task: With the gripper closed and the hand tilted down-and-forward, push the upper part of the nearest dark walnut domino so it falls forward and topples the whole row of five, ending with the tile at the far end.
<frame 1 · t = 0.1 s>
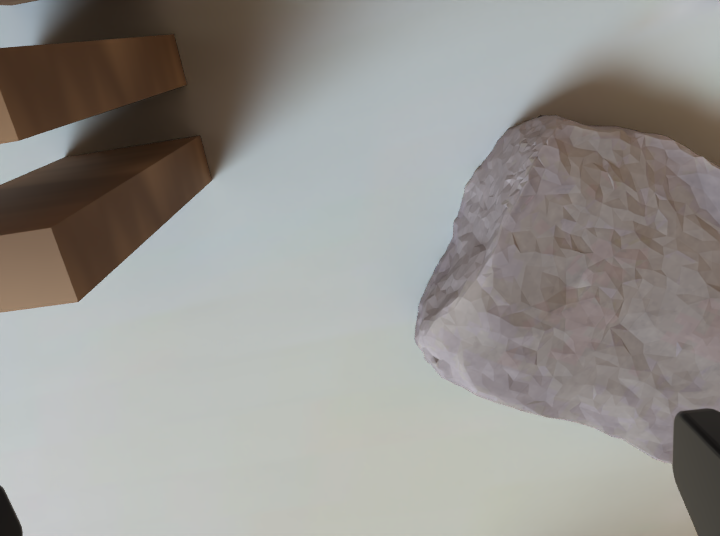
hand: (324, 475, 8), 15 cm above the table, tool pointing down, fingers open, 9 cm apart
domino 1: (138, 168, 22), on the table
domino 2: (108, 72, 20), on the table
stone block: (599, 263, 23), on the table
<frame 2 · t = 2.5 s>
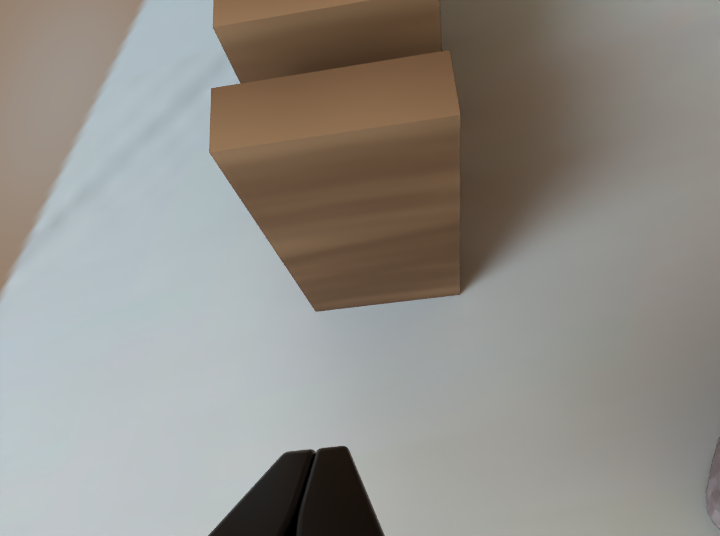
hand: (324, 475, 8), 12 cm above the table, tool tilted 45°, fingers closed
domino 1: (384, 281, 21), on the table
domino 2: (377, 199, 23), on the table
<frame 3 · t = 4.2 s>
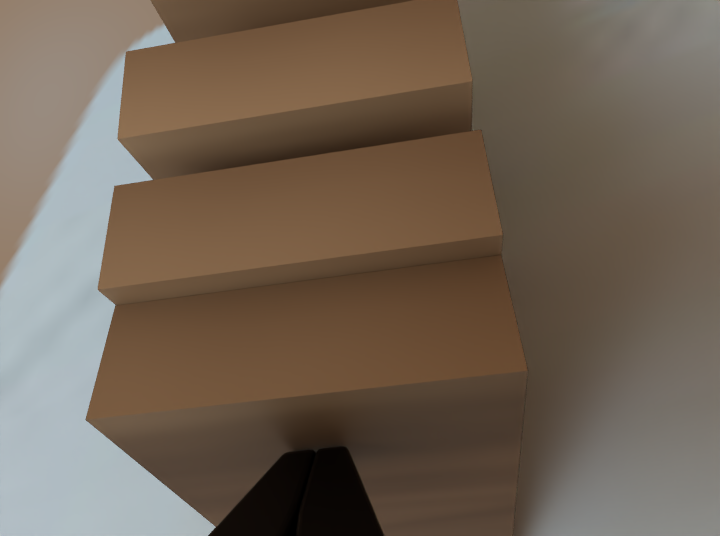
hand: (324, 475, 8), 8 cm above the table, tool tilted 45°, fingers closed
domino 4: (367, 203, 19), on the table
domino 2: (387, 416, 16), on the table, tilted 5°
domino 3: (376, 301, 18), on the table
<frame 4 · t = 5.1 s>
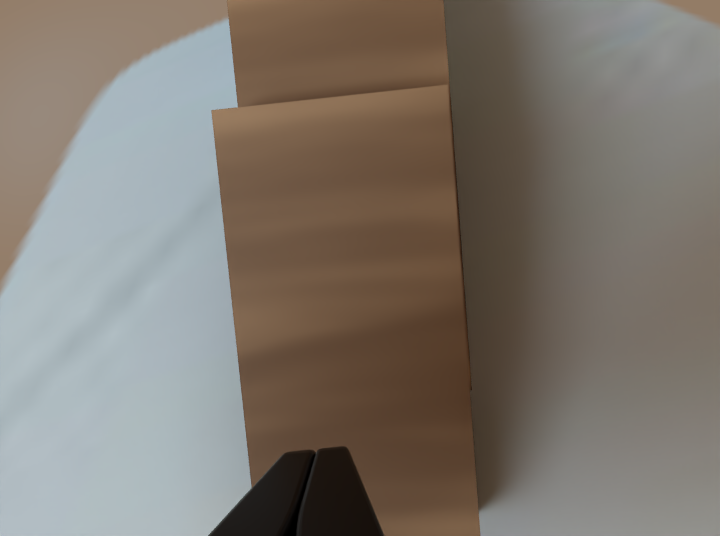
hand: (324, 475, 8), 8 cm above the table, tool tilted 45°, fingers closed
domino 1: (371, 534, 15), point 1 cm above the table, tilted 62°, touching domino 2
domino 2: (371, 386, 16), point 1 cm above the table, tilted 62°, touching domino 1, domino 3
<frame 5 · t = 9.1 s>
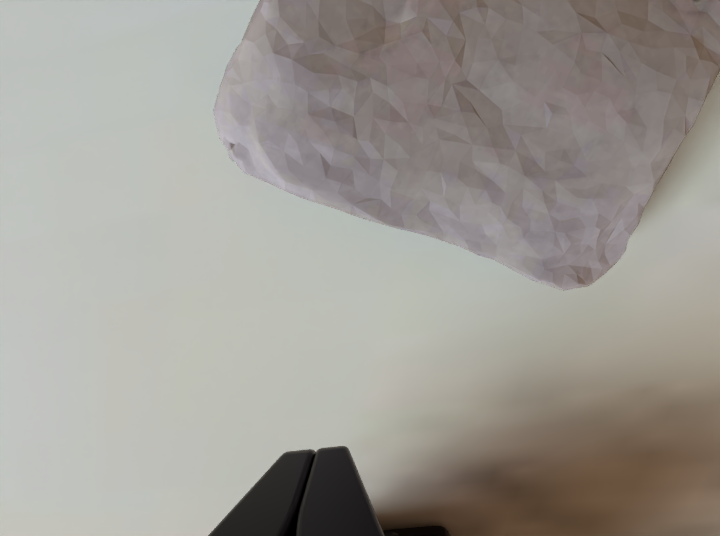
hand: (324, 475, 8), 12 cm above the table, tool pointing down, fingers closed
stone block: (466, 44, 18), on the table
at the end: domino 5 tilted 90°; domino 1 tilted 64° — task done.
